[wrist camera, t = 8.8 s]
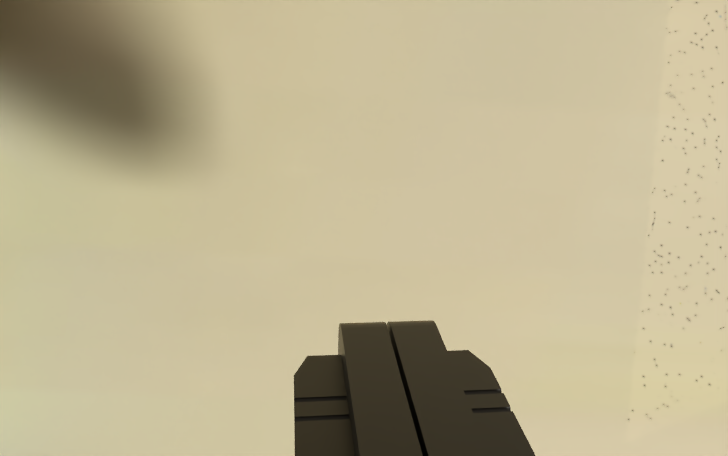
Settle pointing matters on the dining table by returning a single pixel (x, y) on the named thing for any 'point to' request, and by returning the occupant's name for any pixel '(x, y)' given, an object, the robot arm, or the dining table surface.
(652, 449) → the dining table surface
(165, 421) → the dining table surface
